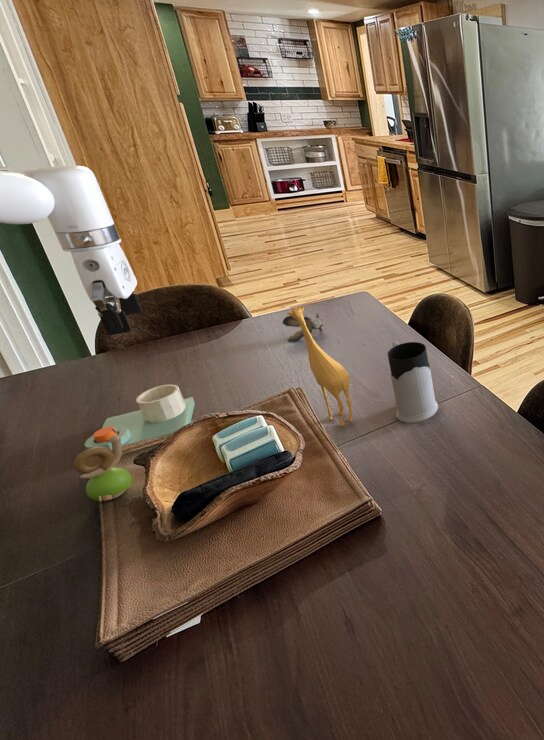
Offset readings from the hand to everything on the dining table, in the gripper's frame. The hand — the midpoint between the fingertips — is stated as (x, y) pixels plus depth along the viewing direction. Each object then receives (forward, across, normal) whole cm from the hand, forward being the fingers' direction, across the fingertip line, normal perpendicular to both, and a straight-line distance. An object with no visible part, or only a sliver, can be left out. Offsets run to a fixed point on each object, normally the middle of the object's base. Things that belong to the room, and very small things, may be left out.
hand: (126, 322), depth 91 cm
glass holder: (+24, -22, -45) cm, 55 cm away
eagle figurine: (+24, +28, -27) cm, 45 cm away
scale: (+23, -2, +3) cm, 24 cm away
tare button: (+20, -6, +8) cm, 22 cm away
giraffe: (+24, -17, -30) cm, 42 cm away
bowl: (+21, 0, 0) cm, 21 cm away
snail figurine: (+24, -21, +4) cm, 32 cm away
